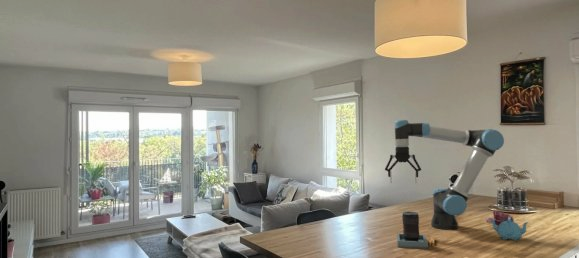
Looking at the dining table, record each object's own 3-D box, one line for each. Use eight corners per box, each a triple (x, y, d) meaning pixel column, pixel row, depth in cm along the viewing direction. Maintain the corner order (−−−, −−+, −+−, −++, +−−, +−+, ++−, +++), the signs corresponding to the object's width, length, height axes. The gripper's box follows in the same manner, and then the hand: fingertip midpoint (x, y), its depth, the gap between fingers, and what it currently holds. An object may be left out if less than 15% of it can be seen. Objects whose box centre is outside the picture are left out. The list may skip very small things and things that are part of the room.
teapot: (530, 241, 182) (529, 221, 183) (508, 243, 180) (508, 223, 180) (510, 234, 195) (509, 216, 195) (489, 236, 192) (488, 218, 192)
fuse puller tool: (431, 239, 189) (430, 237, 189) (435, 240, 188) (435, 237, 188) (429, 245, 179) (429, 242, 179) (433, 245, 178) (433, 242, 178)
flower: (481, 223, 209) (486, 208, 208) (488, 222, 220) (493, 207, 219) (509, 235, 199) (515, 218, 198) (514, 233, 209) (520, 217, 209)
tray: (425, 240, 188) (424, 234, 188) (428, 248, 174) (427, 242, 174) (396, 238, 192) (396, 233, 192) (397, 246, 178) (397, 240, 178)
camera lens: (400, 240, 187) (399, 211, 187) (415, 239, 187) (414, 211, 188) (407, 244, 178) (406, 215, 179) (422, 243, 179) (421, 214, 180)
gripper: (424, 145, 206) (425, 182, 206) (380, 146, 213) (381, 181, 212) (425, 146, 199) (426, 183, 198) (380, 146, 206) (381, 183, 205)
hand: (403, 182), depth 205 cm, fingers open, 13 cm apart
